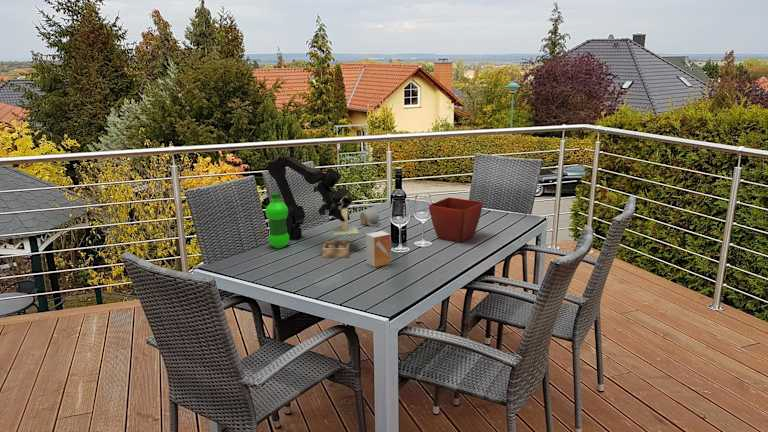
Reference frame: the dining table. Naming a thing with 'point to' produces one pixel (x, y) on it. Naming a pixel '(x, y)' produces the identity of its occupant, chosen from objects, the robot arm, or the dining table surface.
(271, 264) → the dining table surface
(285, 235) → the plastic bottle
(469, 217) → the plant pot
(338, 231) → the beige peg on base
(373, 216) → the ceramic mug
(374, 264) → the small box
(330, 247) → the oak box
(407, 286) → the dining table surface
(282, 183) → the robot arm
